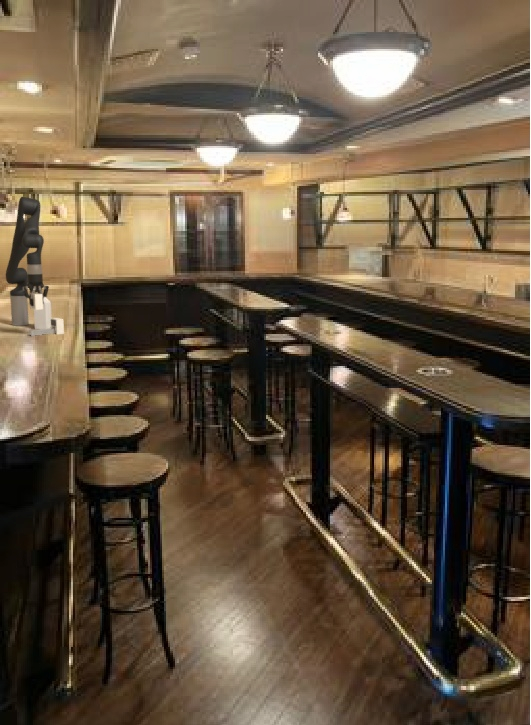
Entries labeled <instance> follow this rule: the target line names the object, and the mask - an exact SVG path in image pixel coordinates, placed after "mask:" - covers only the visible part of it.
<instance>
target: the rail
mask: <svg viewBox="0 0 531 725" xmlns="http://www.w3.org/2000/svg"><path fill="white" fill-rule="evenodd" d="M51 333H56V331H55V328H47V329H30V330H29V336H30V335H31V336H30V337H36V336H35V335H40V336H43V335H42V334H50V335H52V334H51Z"/></svg>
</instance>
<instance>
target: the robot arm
mask: <svg viewBox="0 0 531 725" xmlns="http://www.w3.org/2000/svg"><path fill="white" fill-rule="evenodd" d="M24 215H27V216H30V217H29V218H28V219H27V220H26V221H25V219H24ZM40 217H41V201H39V200H38V199H36V198H31V197H26V196H20V198H19V200H18V206H17V214H16V222H15V223H16V224H15V229H14V233H13V238H12V244H11V245H12V246H11V251H10V255H9V256H10V257H9V260H8V263H7V267H6V270H5V280H6V282H7V284H9V285H16V286H15V287H14V288H13V289H11V290H10V291H9V298H10V312H11V313H10V314H11V315H10V316H11V325H12V326H16V327H17V326H19V327H20V326H29V324H30V322H29V306H30V305H31V306H34V303H33V294H34V293H39V294H42V299H43V298H44V297H46V298H47V297H48V292H49V290H50V289H49V288H50V287H49V285H45V284H44V282H43V281H44V280H43V279H44V277H43V267H42V250H43V246H44V243H45V239H44V236H42V234H40ZM30 249H36V250H34V251H32V252H29V251H30ZM25 256H26V269H25V268H24V267H19V265H20V263H21V261H22V259H23V258H24V257H25ZM28 290H29V292H28ZM28 299H29V303H28ZM28 304H29V305H28ZM43 304H44V301H43Z"/></svg>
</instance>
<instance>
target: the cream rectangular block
mask: <svg viewBox="0 0 531 725" xmlns="http://www.w3.org/2000/svg"><path fill="white" fill-rule="evenodd" d="M33 303H34V306H31V305H30V304H29V308H30V310H33V311H34V310H40V309H43V299H42V294H39V293H38V292H36V293H34V294H33Z"/></svg>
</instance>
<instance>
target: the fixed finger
mask: <svg viewBox="0 0 531 725" xmlns="http://www.w3.org/2000/svg"><path fill="white" fill-rule="evenodd" d="M64 323H65V322H64V319H63V318H60V317H52V318H51V328H55V331H56V334H55V335H65V327H64V326H65V325H64Z"/></svg>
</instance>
